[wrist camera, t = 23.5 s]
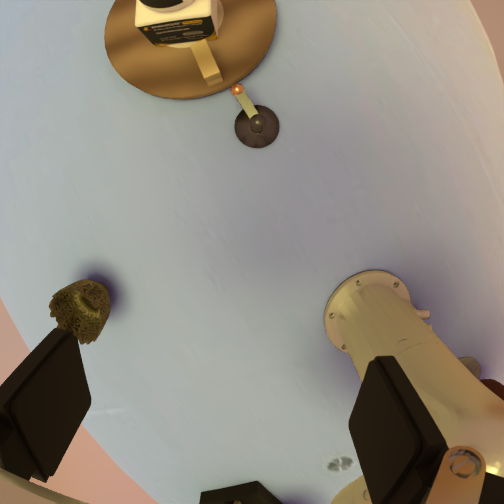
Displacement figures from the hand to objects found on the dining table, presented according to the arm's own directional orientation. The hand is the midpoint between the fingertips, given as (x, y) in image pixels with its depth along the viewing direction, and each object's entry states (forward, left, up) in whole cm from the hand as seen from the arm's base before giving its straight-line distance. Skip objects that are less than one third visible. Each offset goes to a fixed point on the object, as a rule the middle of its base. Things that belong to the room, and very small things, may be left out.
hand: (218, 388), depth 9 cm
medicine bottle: (+8, -23, -27) cm, 36 cm away
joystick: (0, -11, -30) cm, 32 cm away
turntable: (+8, -23, -29) cm, 38 cm away
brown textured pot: (+19, +12, -31) cm, 38 cm away
